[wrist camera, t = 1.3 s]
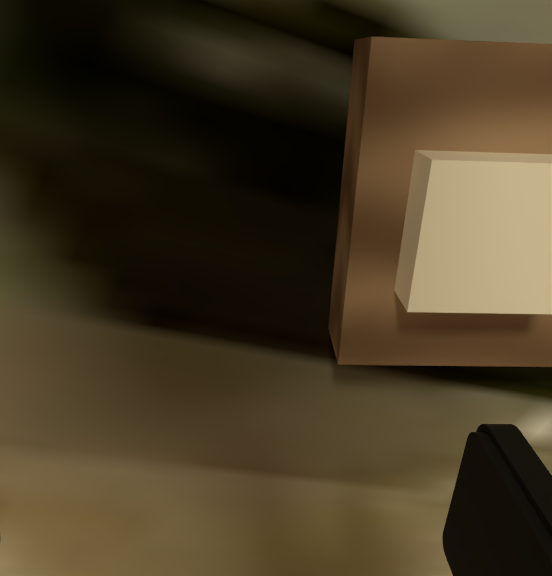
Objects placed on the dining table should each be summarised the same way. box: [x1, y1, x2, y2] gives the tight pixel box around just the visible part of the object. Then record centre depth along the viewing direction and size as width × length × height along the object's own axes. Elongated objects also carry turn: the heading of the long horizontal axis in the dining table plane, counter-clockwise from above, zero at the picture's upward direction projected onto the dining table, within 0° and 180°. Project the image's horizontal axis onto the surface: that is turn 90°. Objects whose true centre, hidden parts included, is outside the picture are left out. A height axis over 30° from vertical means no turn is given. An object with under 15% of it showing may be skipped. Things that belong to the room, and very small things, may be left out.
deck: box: [328, 37, 552, 367], centre depth 26 cm, size 16×16×4 cm
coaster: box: [394, 150, 552, 314], centre depth 23 cm, size 7×7×2 cm
